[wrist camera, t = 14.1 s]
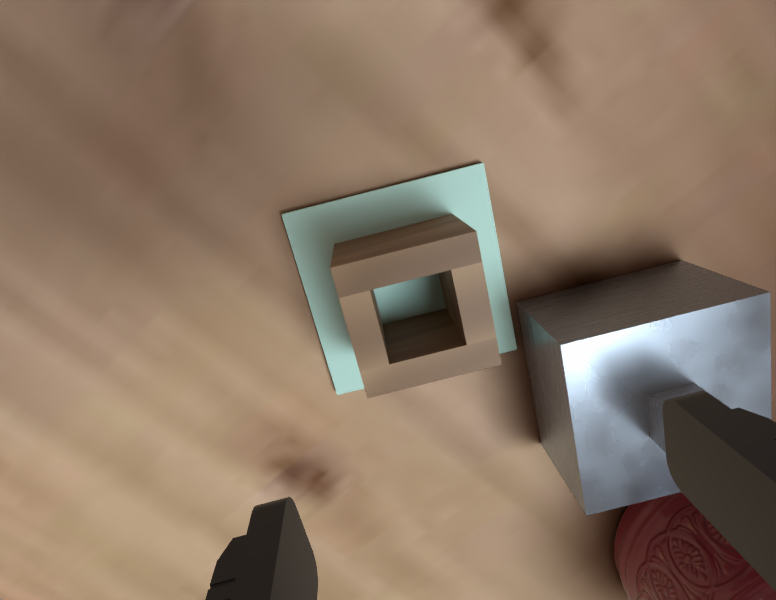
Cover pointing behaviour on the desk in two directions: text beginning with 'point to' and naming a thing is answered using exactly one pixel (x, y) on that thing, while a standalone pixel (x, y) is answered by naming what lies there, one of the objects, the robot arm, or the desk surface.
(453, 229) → the hollow wooden block
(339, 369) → the mat
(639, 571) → the canister
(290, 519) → the robot arm
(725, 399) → the block
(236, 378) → the desk surface
